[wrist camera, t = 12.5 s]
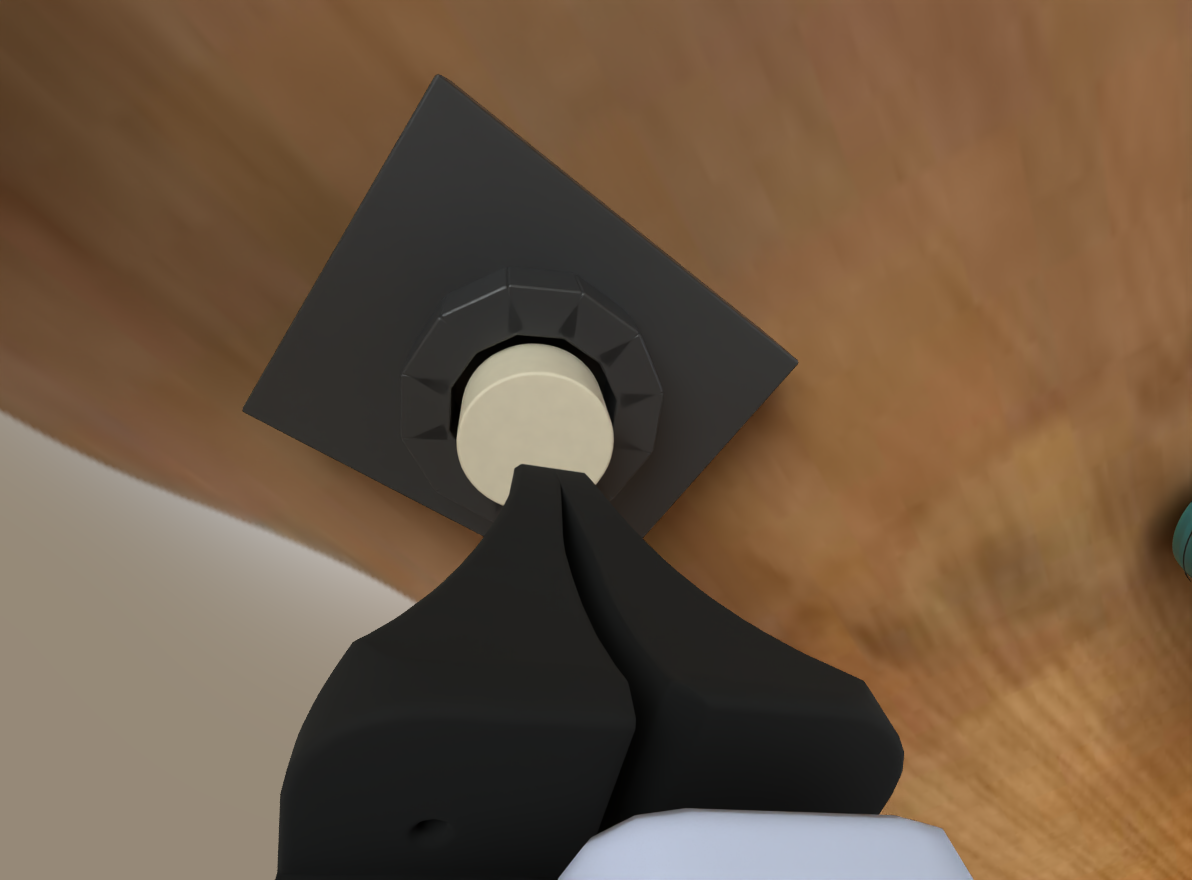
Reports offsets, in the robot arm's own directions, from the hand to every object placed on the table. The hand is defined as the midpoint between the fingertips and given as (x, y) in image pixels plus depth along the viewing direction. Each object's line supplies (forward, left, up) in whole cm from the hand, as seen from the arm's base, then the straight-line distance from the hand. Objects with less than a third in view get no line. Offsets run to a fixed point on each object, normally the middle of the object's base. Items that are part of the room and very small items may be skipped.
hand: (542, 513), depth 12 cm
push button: (0, 0, -5) cm, 5 cm away
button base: (0, 0, -9) cm, 9 cm away
